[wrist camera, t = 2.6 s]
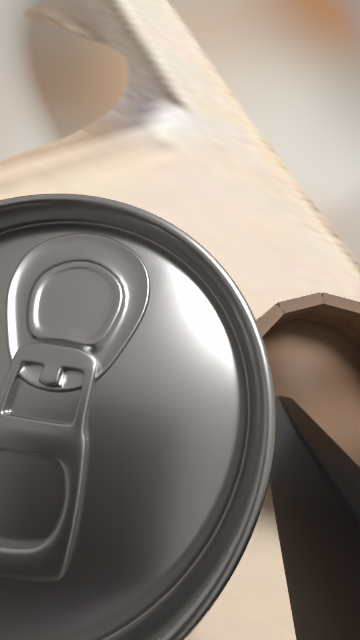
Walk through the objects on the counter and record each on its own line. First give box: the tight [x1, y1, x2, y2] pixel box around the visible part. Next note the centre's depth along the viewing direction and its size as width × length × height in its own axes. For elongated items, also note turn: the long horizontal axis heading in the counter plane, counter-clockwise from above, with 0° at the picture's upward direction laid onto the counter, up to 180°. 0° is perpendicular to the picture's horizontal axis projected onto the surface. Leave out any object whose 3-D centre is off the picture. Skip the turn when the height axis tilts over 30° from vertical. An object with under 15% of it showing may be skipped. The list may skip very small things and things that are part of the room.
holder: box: [256, 293, 360, 467], centre depth 13 cm, size 10×10×4 cm
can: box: [0, 194, 275, 640], centre depth 9 cm, size 6×6×12 cm
